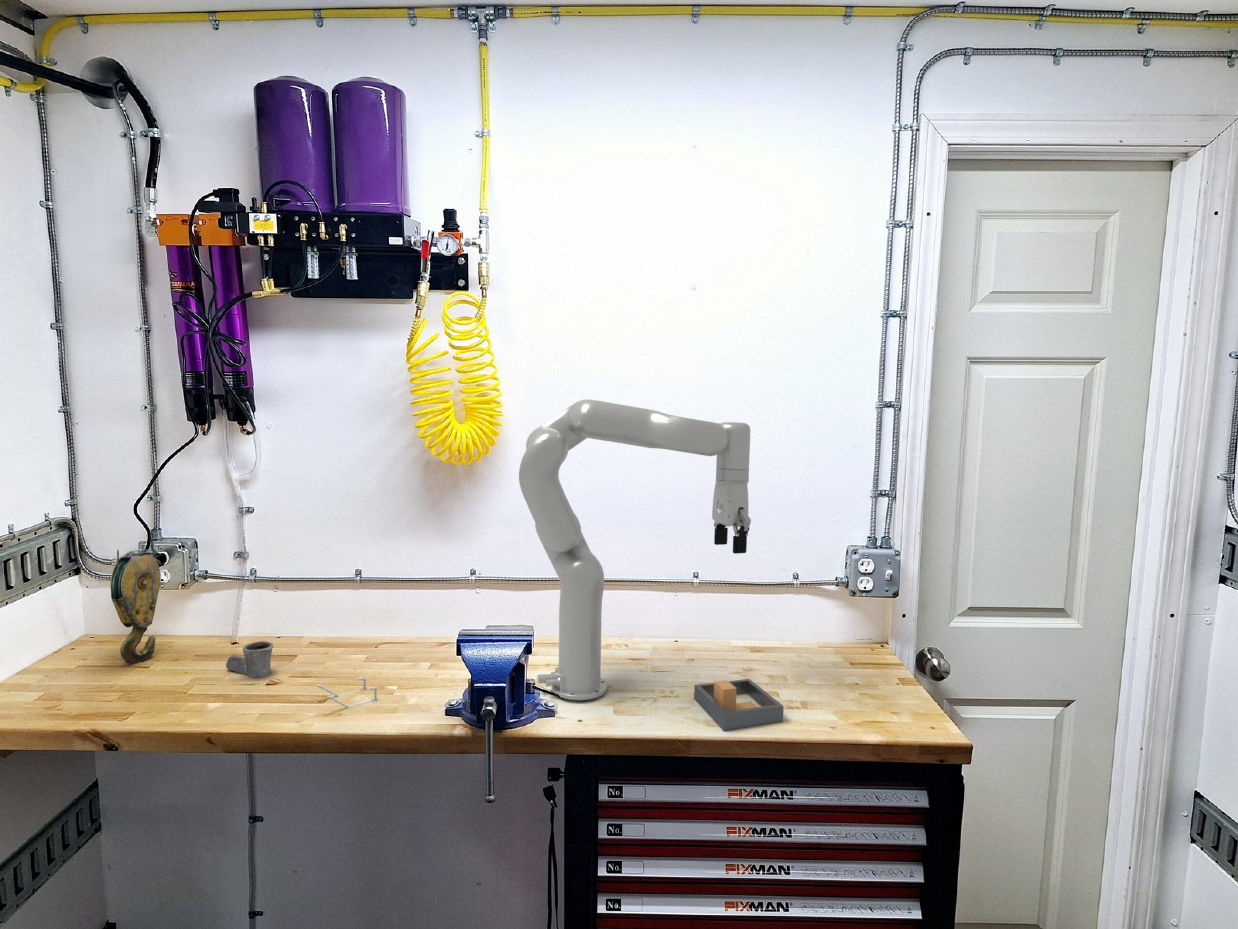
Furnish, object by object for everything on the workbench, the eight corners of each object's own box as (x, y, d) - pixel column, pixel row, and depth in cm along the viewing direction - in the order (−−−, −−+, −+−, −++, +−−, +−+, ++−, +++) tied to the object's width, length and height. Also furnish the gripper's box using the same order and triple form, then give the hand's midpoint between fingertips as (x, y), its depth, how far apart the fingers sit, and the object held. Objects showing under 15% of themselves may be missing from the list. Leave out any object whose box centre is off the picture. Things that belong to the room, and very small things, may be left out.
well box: (723, 737, 147) (724, 713, 146) (693, 706, 161) (694, 685, 160) (782, 729, 151) (783, 706, 150) (748, 700, 165) (749, 678, 165)
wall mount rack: (381, 707, 158) (381, 687, 158) (331, 720, 152) (331, 699, 151) (361, 689, 168) (361, 670, 167) (313, 700, 161) (313, 681, 160)
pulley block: (147, 652, 187) (142, 538, 184) (169, 653, 187) (164, 538, 184) (107, 673, 173) (101, 549, 170) (131, 674, 173) (126, 550, 170)
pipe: (240, 668, 178) (239, 636, 177) (281, 675, 174) (280, 643, 173) (219, 677, 172) (218, 644, 172) (261, 685, 168) (260, 651, 168)
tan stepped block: (722, 722, 152) (723, 689, 152) (713, 713, 157) (714, 681, 156) (760, 717, 155) (761, 685, 154) (750, 708, 159) (751, 677, 159)
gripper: (702, 472, 175) (699, 542, 176) (734, 480, 158) (731, 557, 160) (730, 471, 177) (727, 540, 179) (765, 479, 161) (762, 555, 162)
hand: (729, 548), depth 169 cm, fingers open, 9 cm apart
